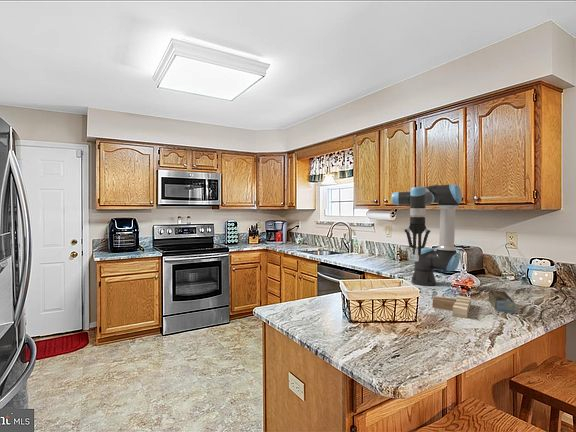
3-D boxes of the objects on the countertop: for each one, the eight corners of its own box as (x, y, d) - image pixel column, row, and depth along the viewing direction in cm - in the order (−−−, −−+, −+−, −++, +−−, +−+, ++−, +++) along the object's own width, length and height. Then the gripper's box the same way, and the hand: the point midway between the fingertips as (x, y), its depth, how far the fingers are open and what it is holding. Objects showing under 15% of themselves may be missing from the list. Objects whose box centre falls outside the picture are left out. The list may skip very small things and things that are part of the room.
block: (434, 304, 176) (434, 296, 176) (456, 307, 170) (456, 299, 170) (432, 308, 170) (432, 299, 170) (454, 311, 164) (454, 302, 164)
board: (457, 303, 178) (458, 295, 177) (470, 305, 174) (470, 297, 174) (452, 315, 157) (452, 307, 157) (466, 318, 154) (467, 309, 154)
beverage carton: (495, 311, 164) (495, 298, 164) (487, 301, 182) (488, 289, 182) (514, 313, 161) (515, 300, 161) (505, 303, 179) (505, 290, 179)
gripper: (403, 216, 177) (402, 260, 178) (429, 217, 170) (428, 263, 171) (406, 216, 183) (405, 258, 184) (432, 216, 176) (431, 261, 177)
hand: (416, 261), depth 178 cm, fingers closed
